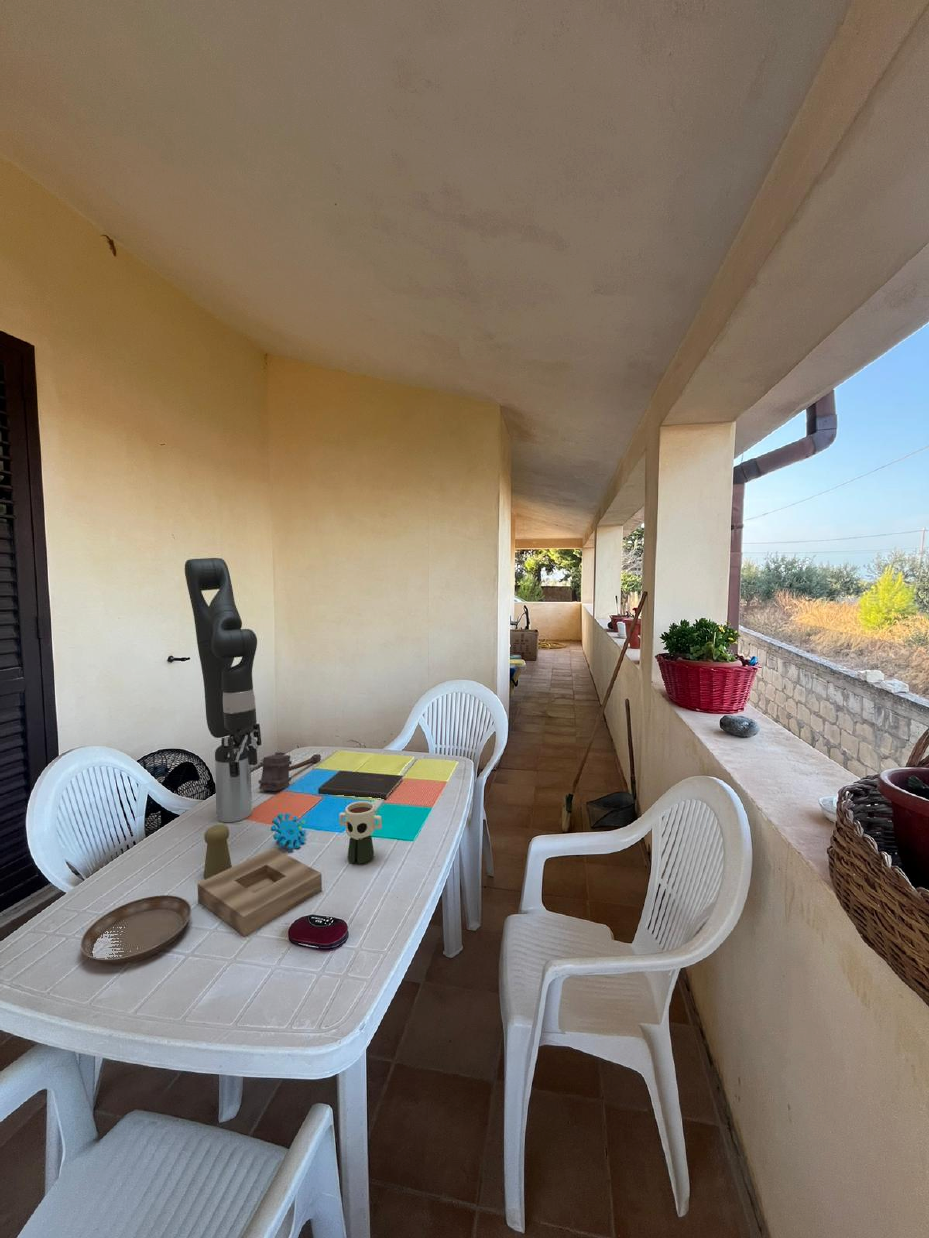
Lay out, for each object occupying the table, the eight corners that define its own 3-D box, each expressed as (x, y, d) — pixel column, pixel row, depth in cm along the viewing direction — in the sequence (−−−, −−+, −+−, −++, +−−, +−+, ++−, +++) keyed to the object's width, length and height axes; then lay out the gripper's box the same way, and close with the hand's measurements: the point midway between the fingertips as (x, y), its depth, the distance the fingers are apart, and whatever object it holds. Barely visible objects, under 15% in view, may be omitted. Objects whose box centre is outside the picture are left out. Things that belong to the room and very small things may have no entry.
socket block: (198, 901, 108) (197, 883, 108) (274, 863, 122) (273, 847, 122) (244, 936, 97) (243, 916, 97) (321, 890, 112) (321, 873, 111)
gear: (286, 852, 124) (267, 817, 128) (272, 865, 126) (253, 831, 129) (316, 837, 135) (297, 805, 138) (303, 850, 136) (284, 818, 139)
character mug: (333, 864, 122) (332, 811, 121) (346, 848, 129) (345, 799, 128) (376, 868, 120) (376, 815, 119) (387, 853, 127) (386, 802, 126)
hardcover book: (340, 776, 178) (340, 770, 178) (402, 782, 174) (402, 775, 174) (318, 795, 163) (317, 788, 163) (386, 801, 158) (385, 794, 158)
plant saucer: (143, 980, 87) (142, 963, 87) (55, 966, 90) (54, 950, 90) (211, 914, 104) (211, 899, 104) (136, 904, 107) (135, 890, 107)
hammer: (257, 789, 163) (260, 757, 164) (310, 772, 194) (312, 745, 196) (275, 791, 161) (278, 758, 162) (326, 774, 193) (328, 747, 194)
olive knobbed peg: (210, 866, 121) (208, 821, 120) (236, 865, 122) (234, 820, 121) (199, 881, 115) (197, 834, 114) (226, 879, 116) (225, 833, 115)
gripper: (241, 702, 137) (245, 761, 138) (208, 715, 123) (213, 781, 124) (267, 701, 136) (271, 760, 137) (237, 714, 122) (243, 780, 123)
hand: (244, 770), depth 130 cm, fingers open, 8 cm apart
